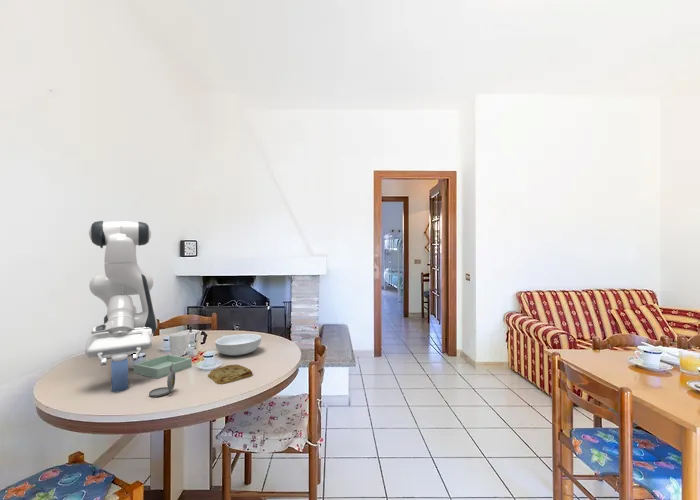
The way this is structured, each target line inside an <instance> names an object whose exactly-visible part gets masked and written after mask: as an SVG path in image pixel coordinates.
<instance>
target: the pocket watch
mask: <svg viewBox="0 0 700 500" xmlns="http://www.w3.org/2000/svg"><path fill="white" fill-rule="evenodd" d="M171 365H173V363H172V364H171ZM166 379H167V380H166V384H167V385H166V386H163V387H158V388H154V389H151V390H150V391H149V392H148V395H149V396H150V397H156V398H157V397H162V396H165V395H168V394H169V393H171V392H172V391H173V390H174V388H175V384H176V372H175V371H174V370H172V366H170V372H169V374H168V375H167V378H166Z"/></svg>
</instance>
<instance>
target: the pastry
mask: <svg viewBox="0 0 700 500" xmlns="http://www.w3.org/2000/svg"><path fill="white" fill-rule="evenodd" d="M252 376H253V371H252V370H251V369H250V368H247V367H245V366H243V365H241V364H228V365H225V366H222V367H221V366H220V367H218V368H214V369H212V370H211V371H210V373H208V374H207V377H208V378H209V379H211V380H212V381H213V383H215V384H216V385H225V384H229V383H234V382H237V381H240V380H244V379H247V378H250V377H252Z"/></svg>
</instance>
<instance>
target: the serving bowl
mask: <svg viewBox="0 0 700 500" xmlns="http://www.w3.org/2000/svg"><path fill="white" fill-rule="evenodd" d="M261 341H262V336H261V335H260V334H255V333H240V334H230V335H226V336H222V337H219V338H218V339H216V340H215V341H214V342H215V343H214V344H215V347H216V350H217V351H218V352H219V353H221V354H222V355H225V356H233V357H235V356H237V357H239V356H243V355H246V354H250V353H252V352H254V351H255V350H257V348H258V347H259V346H260V344H261V343H262V342H261Z"/></svg>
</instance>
